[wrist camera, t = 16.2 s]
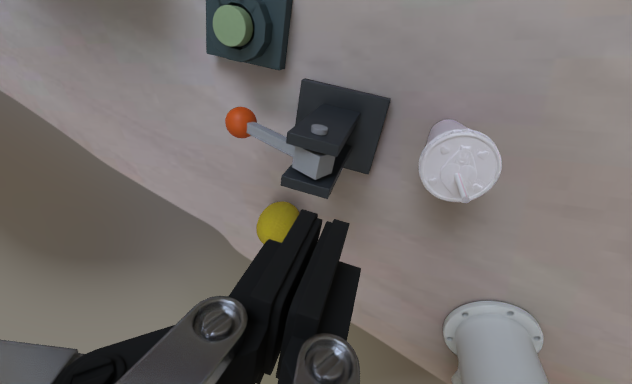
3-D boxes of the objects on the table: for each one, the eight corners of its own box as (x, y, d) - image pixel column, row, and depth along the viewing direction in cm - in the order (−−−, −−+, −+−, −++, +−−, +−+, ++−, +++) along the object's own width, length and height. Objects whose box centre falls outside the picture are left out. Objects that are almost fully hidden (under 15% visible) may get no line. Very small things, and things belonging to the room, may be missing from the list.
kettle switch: (243, 129, 34) (218, 134, 32) (244, 101, 33) (219, 104, 31) (333, 176, 28) (311, 186, 26) (340, 144, 27) (318, 152, 24)
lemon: (305, 229, 45) (286, 265, 38) (270, 219, 45) (245, 252, 39) (311, 198, 42) (291, 230, 35) (273, 187, 43) (247, 216, 36)
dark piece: (292, -3, 31) (280, -6, 28) (284, 68, 35) (273, 72, 32) (214, -18, 33) (195, -23, 30) (214, 52, 36) (196, 54, 33)
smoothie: (411, 158, 36) (412, 222, 24) (422, 103, 33) (430, 144, 21) (469, 166, 34) (502, 237, 22) (487, 109, 31) (535, 156, 19)
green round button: (254, 9, 30) (246, 8, 28) (252, 49, 32) (244, 50, 30) (221, 3, 31) (212, 1, 29) (221, 42, 32) (212, 42, 31)
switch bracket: (294, 150, 39) (249, 195, 28) (304, 78, 35) (257, 99, 24) (369, 170, 38) (353, 227, 27) (390, 98, 33) (381, 130, 22)
